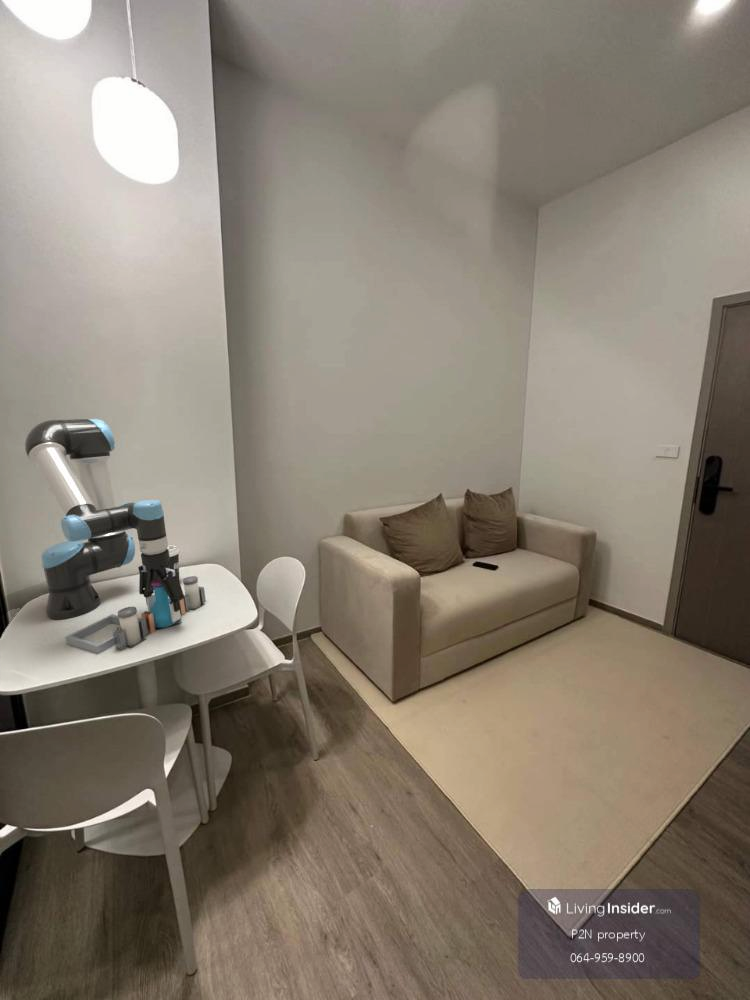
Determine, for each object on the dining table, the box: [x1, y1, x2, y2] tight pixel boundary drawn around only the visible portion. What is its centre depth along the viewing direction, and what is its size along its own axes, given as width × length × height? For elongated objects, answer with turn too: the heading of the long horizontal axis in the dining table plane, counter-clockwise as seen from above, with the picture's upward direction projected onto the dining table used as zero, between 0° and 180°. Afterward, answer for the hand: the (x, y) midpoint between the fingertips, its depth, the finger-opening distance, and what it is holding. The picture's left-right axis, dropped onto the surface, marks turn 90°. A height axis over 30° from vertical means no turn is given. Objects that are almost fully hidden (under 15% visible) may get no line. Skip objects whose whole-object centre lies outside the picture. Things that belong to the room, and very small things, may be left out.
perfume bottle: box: [149, 579, 177, 629], centre depth 125 cm, size 9×9×15 cm
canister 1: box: [117, 606, 141, 646], centre depth 115 cm, size 5×5×10 cm
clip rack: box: [112, 586, 207, 651], centre depth 126 cm, size 6×31×7 cm, turn 158°
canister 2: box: [182, 575, 201, 609], centre depth 136 cm, size 5×5×10 cm
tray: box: [65, 613, 120, 655], centre depth 120 cm, size 14×14×3 cm
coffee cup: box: [165, 544, 181, 582], centre depth 155 cm, size 10×10×15 cm
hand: (164, 617), depth 127 cm, fingers closed on perfume bottle, 9 cm apart
